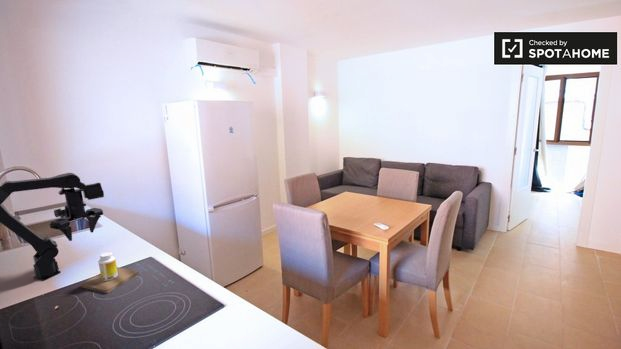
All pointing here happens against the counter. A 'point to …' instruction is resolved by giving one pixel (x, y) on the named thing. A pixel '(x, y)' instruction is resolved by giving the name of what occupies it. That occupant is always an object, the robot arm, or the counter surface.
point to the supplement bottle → (107, 266)
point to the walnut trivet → (109, 281)
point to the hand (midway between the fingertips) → (81, 236)
